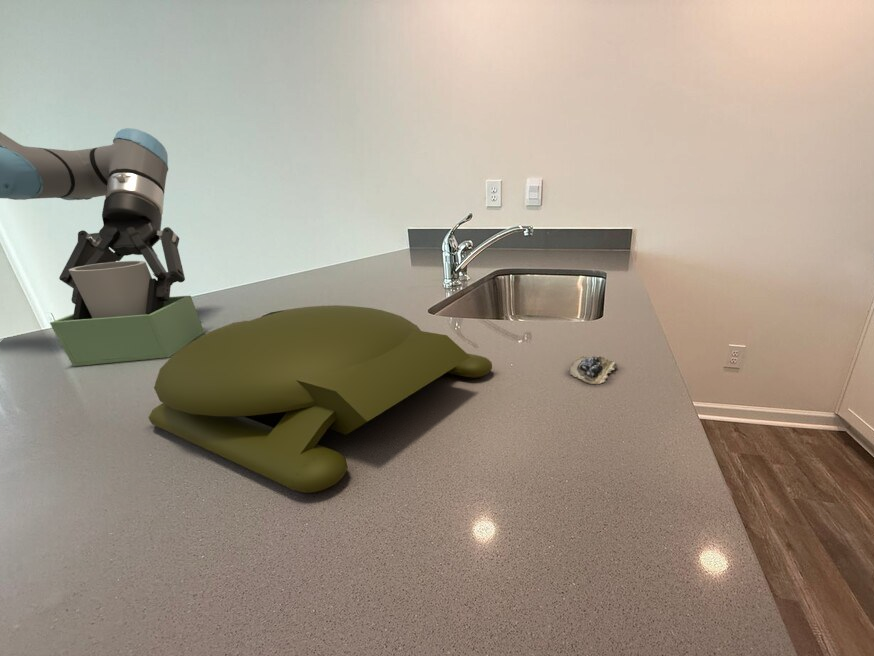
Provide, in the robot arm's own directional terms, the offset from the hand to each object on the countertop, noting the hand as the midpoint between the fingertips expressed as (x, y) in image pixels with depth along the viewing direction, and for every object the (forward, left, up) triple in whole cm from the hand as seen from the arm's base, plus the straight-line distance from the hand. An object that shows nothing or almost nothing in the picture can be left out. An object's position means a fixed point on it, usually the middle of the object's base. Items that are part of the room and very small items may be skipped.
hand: (118, 320), depth 65 cm
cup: (0, +3, -4) cm, 5 cm away
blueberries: (+70, -28, -6) cm, 76 cm away
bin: (0, +3, -6) cm, 7 cm away
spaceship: (+34, -24, -6) cm, 42 cm away
